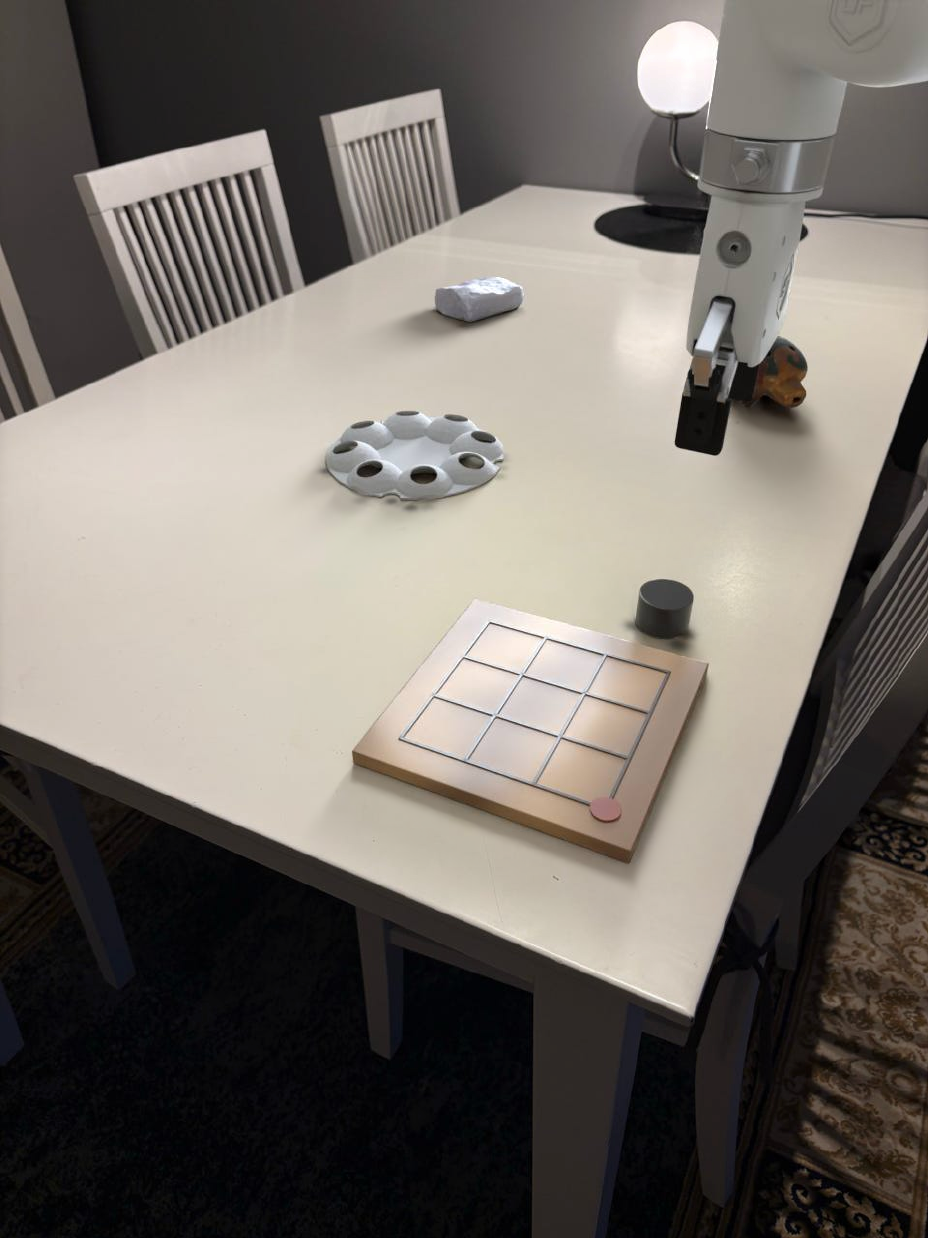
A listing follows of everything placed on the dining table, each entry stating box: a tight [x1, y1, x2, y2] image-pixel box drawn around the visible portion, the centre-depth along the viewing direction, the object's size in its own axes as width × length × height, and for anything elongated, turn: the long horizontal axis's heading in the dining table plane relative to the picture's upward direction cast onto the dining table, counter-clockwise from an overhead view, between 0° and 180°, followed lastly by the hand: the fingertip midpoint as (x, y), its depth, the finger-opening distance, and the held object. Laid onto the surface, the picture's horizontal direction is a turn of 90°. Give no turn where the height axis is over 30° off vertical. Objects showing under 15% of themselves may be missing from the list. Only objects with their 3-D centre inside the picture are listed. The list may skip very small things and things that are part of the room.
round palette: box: [325, 410, 505, 501], centre depth 100 cm, size 20×20×2 cm
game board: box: [351, 598, 710, 864], centre depth 67 cm, size 20×20×1 cm
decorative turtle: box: [740, 335, 808, 409], centre depth 111 cm, size 10×15×8 cm, turn 23°
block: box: [434, 276, 525, 323], centre depth 139 cm, size 12×5×10 cm
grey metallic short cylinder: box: [634, 578, 695, 640], centre depth 75 cm, size 4×4×3 cm
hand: (715, 422), depth 66 cm, fingers open, 9 cm apart
